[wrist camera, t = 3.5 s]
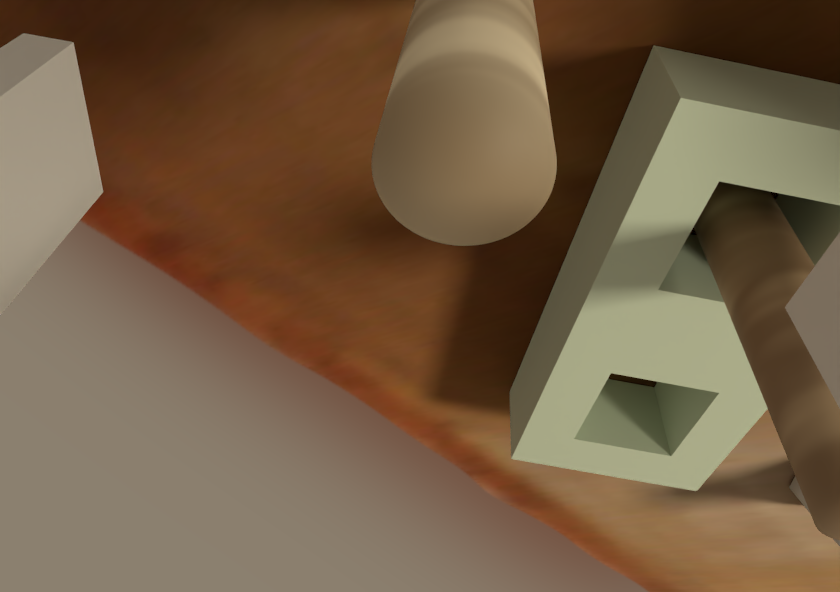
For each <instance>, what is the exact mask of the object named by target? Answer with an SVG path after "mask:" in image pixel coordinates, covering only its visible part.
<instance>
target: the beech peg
mask: <svg viewBox="0 0 840 592" xmlns="http://www.w3.org/2000/svg"><path fill="white" fill-rule="evenodd" d="M556 171H557V157H556V150H555V143H554V137H553V130H552V124H551V117H550V110H549V104H548V97H547V90H546V84H545V77H544V70H543V64H542V57H541V51H540V44H539V37H538V31H537V24H536V17H535V11H534V4H533V0H416V1H415V5H414V8H413V12H412V15H411V19H410V22H409V26H408V29H407V33H406V36H405V39H404V43H403V46H402V50H401V53H400V57H399V60H398V64H397V67H396V71H395V74H394V78H393V81H392V84H391V88H390V91H389V95H388V98H387V102H386V105H385V109H384V112H383V116H382V119H381V123H380V126H379V129H378V133H377V136H376V140H375V143H374V148H373V153H372V175H373V180H374V184H375V187H376V190H377V192H378V195H379V197H380V199H381V200H382V202H383V204H384V205H385V207H386V208H387V209H388V211H389V212H390V213H391V214H392V215H393V216H394V218H395V219H396V220H397V221H399V222H400V223H401V224H402V225H403V226H405V227H406V228H408V229H409V230H411V231H412V232H414V233H416V234H418V235H420V236H422V237H424V238H426V239H429V240H432V241H435V242H439V243H443V244H448V245H455V246H472V245H481V244H487V243H491V242H494V241H498V240H500V239H503V238H505V237H508V236H510V235H512V234H513V233H515V232H517V231H519V230H520V229H522V228H523V227H524V226H526V225H527V224H528V223H529V222H530V221H531V220H533V219H534V218H535V217H536V216H537V214H538V213H539V212H540V211H541V209H542V208H543V207H544V205H545V203H546V202H547V200H548V198H549V196H550V194H551V192H552V189H553V186H554V182H555V179H556Z"/></svg>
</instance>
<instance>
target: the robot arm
mask: <svg viewBox="0 0 840 592" xmlns="http://www.w3.org/2000/svg"><path fill="white" fill-rule="evenodd" d="M102 193H103V188H102V183H101V178H100V173H99V168H98V163H97V158H96V153H95V148H94V143H93V138H92V133H91V128H90V123H89V118H88V113H87V108H86V103H85V97H84V92H83V87H82V82H81V77H80V72H79V67H78V62H77V57H76V52H75V47H74V42H70V41H64V40H58V39H53V38H47V37H42V36H36V35H31V34H25V33H23V34H21V35H20V36H18V37H17V38H15V39H14V40H12V41H11V42H9V43H7V44H6V45H4V46H3V47H1V48H0V315H1V314H2V313H3V312H4V310H5V309H6V308H7V307H8V306H9V304H10V303H11V302H12V301H13V300H14V298H15V297H16V296H17V295H18V293H19V292H20V291H21V290H22V289H23V288H24V286H25V285H26V284H27V283H28V282H29V280H30V279H31V278H32V277H33V276H34V274H35V273H36V272H37V271H38V270H39V268H40V267H41V266H42V265H43V264H44V262H45V261H46V260H47V258H49V256H50V255H51V254H52V253H53V251H54V250H55V249H56V248H57V247H58V245H59V244H60V243H61V242H62V241H63V239H64V238H65V237H66V236H67V235H68V233H69V232H70V231H71V230H72V229H73V227H74V226H75V225H76V224H77V223H78V222H79V220H80V219H81V218H82V217H83V216H84V214H85V213H86V212H87V211H88V210H89V208H90V207H91V206H92V205H93V204H94V202H95V201H96V200H97V199H98V198H99V196H100V195H101V194H102ZM785 309H786V311H787V312H788V314H789V316H790V318H791V320H792V322H793V323H794V325H795V327H796V329H797V331H798V333H799V335H800V336H801V338H802V340H803V342H804V344H805V346H806V347H807V349H808V351H809V353H810V355H811V357H812V359H813V360H814V362H815V364H816V366H817V368H818V370H819V371H820V373H821V375H822V377H823V379H824V381H825V383H826V384H827V386H828V388H829V390H830V392H831V394H832V395H833V397H834V399H835V401H836V403H837V405H838V407H839V408H840V232H839V234H838V235H837V236H836V238H835V239H834V241H833V242H832V243H831V245H830V246H829V247H828V249H827V250H826V252H825V253H824V254H823V256H822V257H821V258H820V260H819V261H818V263H817V264H816V265H815V267H814V268H813V269H812V271H811V272H810V273H809V275H808V276H807V278H806V279H805V280H804V282H803V283H802V284H801V286H800V287H799V289H798V290H797V291H796V293H795V294H794V295H793V297H792V298H791V300H790V301H789V302H788V304H787V305H786V306H785Z"/></svg>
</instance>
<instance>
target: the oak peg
mask: <svg viewBox="0 0 840 592" xmlns="http://www.w3.org/2000/svg"><path fill="white" fill-rule="evenodd" d="M694 229H695V232H696V234H697V237H698V239H699V242H700V244H701V246H702V249H703V251H704V254H705V256H706V259H707V261H708V264H709V266H710V268H711V271H712V273H713V276H714V278H715V281H716V283H717V286H718V288H719V290H720V293H721V295H722V298H723V300H724V303H725V305H726V308H727V310H728V313H729V315H730V317H731V320H732V322H733V325H734V327H735V330H736V332H737V335H738V337H739V339H740V342H741V344H742V347H743V349H744V352H745V354H746V357H747V359H748V361H749V364H750V366H751V369H752V371H753V374H754V376H755V379H756V381H757V384H758V386H759V388H760V391H761V393H762V396H763V398H764V401H765V403H766V406H767V408H768V410H769V413H770V415H771V418H772V420H773V423H774V425H775V428H776V430H777V432H778V435H779V437H780V440H781V442H782V445H783V447H784V450H785V452H786V454H787V457H788V459H789V462H790V464H791V467H792V469H793V472H794V474H795V477H796V479H797V481H798V484H799V486H800V489H801V491H802V494H803V496H804V499H805V501H806V503H807V506H808V508H809V511H810V513H811V516H812V518H813V521H814V523H815V525H816V527H817V529H818V530H819V531H820V532H821V533H823V534H825V535H826V536H828V537H831V538H833V539H837V540H840V408H839V407H838V405H837V403H836V401H835V399H834V397H833V395H832V394H831V392H830V390H829V388H828V386H827V384H826V383H825V381H824V379H823V377H822V375H821V373H820V371H819V370H818V368H817V366H816V364H815V362H814V360H813V359H812V357H811V355H810V353H809V351H808V349H807V347H806V346H805V344H804V342H803V340H802V338H801V336H800V335H799V333H798V331H797V329H796V327H795V325H794V323H793V322H792V320H791V318H790V316H789V314H788V312H787V311H786V309H785V306H786V305H787V304H788V302H789V301H790V300H791V298H792V297H793V295H794V294H795V293H796V291H797V290H798V289H799V287H800V286H801V284H802V283H803V282H804V280H805V279H806V278H807V276H808V275H809V273H810V272H811V271H812V269H813V268H814V267H815V265H814V264H813V262H812V260H811V259H810V257H809V256H808V254H807V252H806V251H805V249H804V247H803V246H802V244H801V242H800V241H799V239H798V237H797V236H796V234H795V232H794V231H793V229H792V228H791V226H790V224H789V223H788V221H787V219H786V218H785V216H784V214H783V213H782V211H781V209H780V208H779V206H778V204H777V203H776V201H775V199H774V198H773V196H772V195H771V193H770V191H765V190H760V189H755V188H750V187H745V186H740V185H735V184H730V183H725V182H720V181H719V183H718V185H717V186H716V188H715V190H714V192H713V193H712V195H711V197H710V199H709V200H708V202H707V204H706V206H705V208H704V209H703V211H702V213H701V215H700V216H699V218H698V220H697V222H696V224H695V225H694Z"/></svg>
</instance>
